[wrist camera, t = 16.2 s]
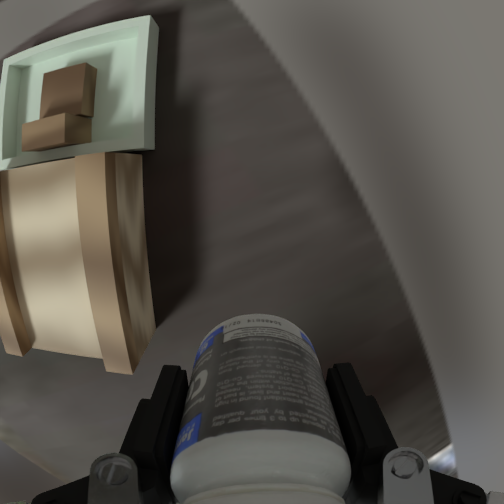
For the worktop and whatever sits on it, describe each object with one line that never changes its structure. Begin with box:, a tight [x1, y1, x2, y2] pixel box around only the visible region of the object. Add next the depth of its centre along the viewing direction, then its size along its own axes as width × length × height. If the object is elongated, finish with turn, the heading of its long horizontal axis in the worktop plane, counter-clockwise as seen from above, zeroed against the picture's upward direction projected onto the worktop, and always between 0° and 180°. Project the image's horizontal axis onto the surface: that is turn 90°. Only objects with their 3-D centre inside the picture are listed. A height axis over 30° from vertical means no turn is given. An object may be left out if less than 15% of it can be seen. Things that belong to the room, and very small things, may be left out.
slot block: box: [0, 152, 156, 374], centre depth 20 cm, size 14×12×6 cm
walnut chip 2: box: [22, 113, 92, 152], centre depth 18 cm, size 4×4×2 cm
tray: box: [0, 15, 159, 171], centre depth 19 cm, size 10×14×2 cm
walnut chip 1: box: [39, 62, 97, 119], centre depth 19 cm, size 4×4×2 cm
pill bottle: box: [170, 314, 351, 504], centre depth 8 cm, size 5×5×8 cm
